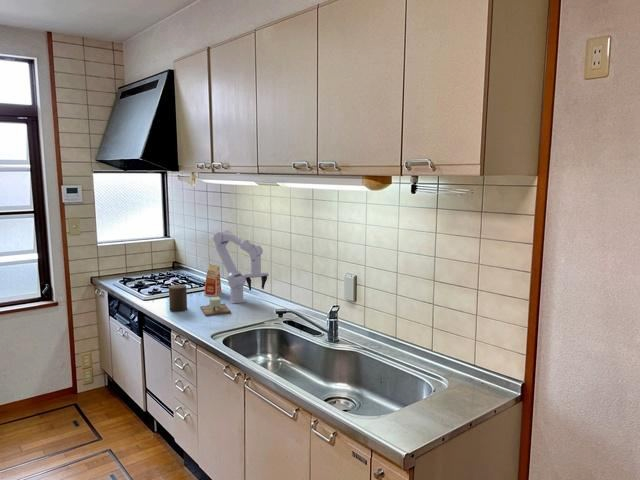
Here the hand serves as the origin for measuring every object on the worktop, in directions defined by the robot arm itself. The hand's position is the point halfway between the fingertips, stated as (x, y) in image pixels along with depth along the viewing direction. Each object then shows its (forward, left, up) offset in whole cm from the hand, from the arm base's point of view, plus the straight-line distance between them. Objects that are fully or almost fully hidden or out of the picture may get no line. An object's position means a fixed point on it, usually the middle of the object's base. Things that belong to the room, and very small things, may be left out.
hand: (256, 289), depth 286 cm
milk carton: (-33, -19, -10) cm, 39 cm away
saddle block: (+3, -25, -8) cm, 26 cm away
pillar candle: (-8, -44, -10) cm, 46 cm away
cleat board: (+3, -25, -9) cm, 27 cm away
